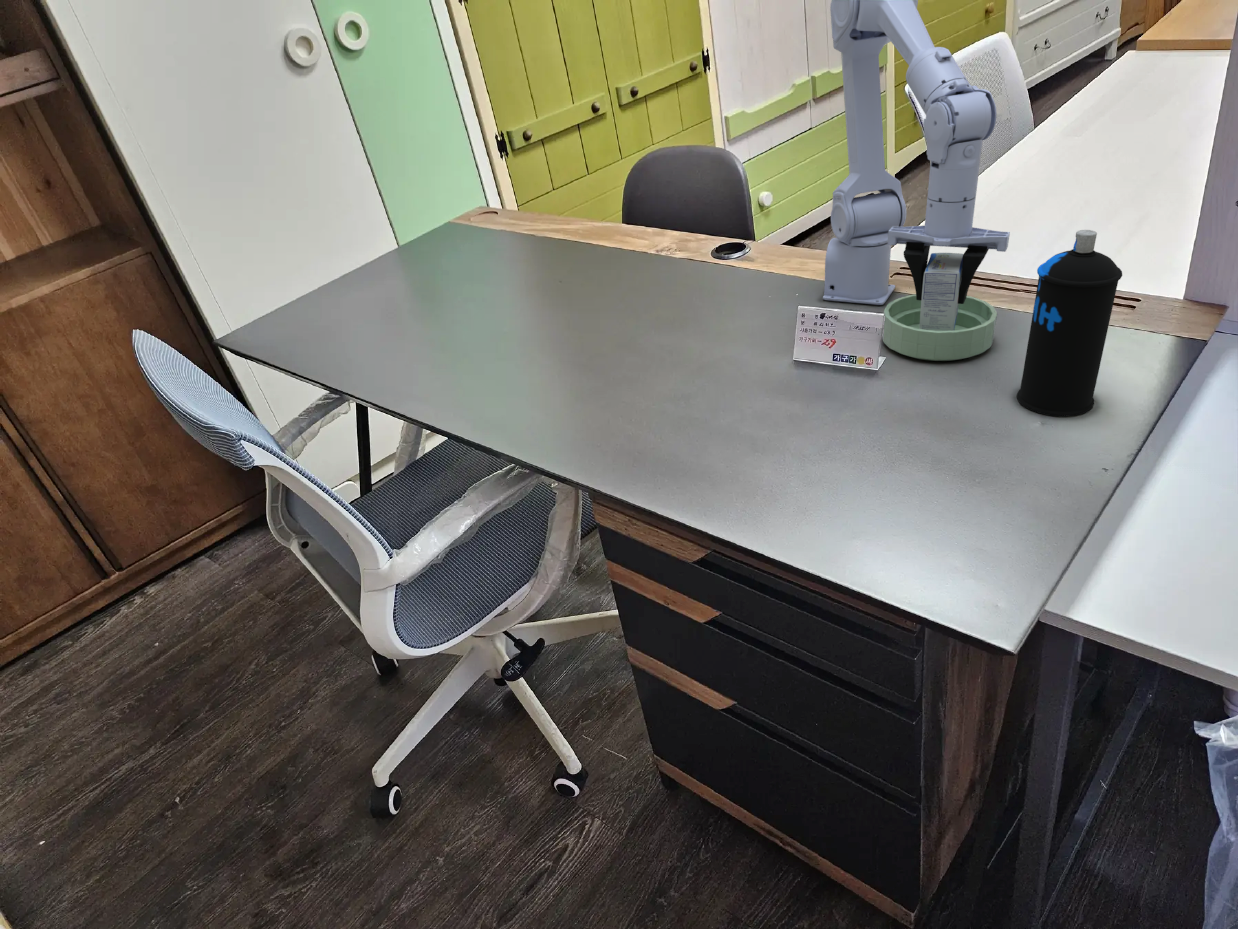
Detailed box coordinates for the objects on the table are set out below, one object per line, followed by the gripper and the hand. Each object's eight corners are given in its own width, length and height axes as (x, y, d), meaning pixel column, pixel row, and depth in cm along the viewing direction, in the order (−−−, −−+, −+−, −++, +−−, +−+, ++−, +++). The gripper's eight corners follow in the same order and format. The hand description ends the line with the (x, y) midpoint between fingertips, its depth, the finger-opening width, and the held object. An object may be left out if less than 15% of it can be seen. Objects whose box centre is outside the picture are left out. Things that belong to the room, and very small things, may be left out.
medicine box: (953, 335, 111) (961, 272, 107) (917, 333, 113) (923, 270, 108) (958, 313, 117) (965, 252, 113) (924, 311, 119) (930, 251, 114)
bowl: (870, 356, 114) (872, 325, 112) (896, 317, 125) (898, 288, 122) (982, 370, 108) (986, 337, 105) (999, 327, 118) (1004, 297, 116)
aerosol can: (1089, 386, 101) (1125, 220, 91) (1098, 419, 95) (1137, 244, 84) (1014, 382, 104) (1040, 221, 94) (1018, 414, 98) (1046, 244, 87)
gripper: (884, 203, 106) (878, 305, 113) (1009, 207, 100) (994, 315, 107) (898, 188, 111) (891, 287, 118) (1017, 191, 105) (1002, 295, 112)
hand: (940, 299), depth 113 cm, fingers closed on medicine box, 5 cm apart
